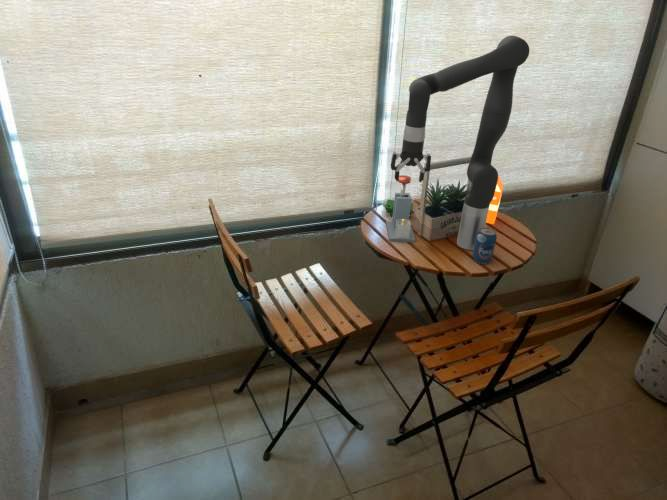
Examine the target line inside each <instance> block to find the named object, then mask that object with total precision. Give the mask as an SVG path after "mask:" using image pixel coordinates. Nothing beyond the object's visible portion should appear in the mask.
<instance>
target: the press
mask: <svg viewBox="0 0 667 500" xmlns="http://www.w3.org/2000/svg"><path fill="white" fill-rule="evenodd" d="M393 200H394V208H393V215H392V217H391V220H386V221H385V226H386V232H387V237H388V240H389V242H393V243H396V242H397V243H416V238H415V234H414V232H413V231H414V230H413V227H412V226H411V227H410V235H409V239H400V238H396V236H395V226H396V219H402V218H405V219H409V220H410V216H409V215H410V208H411V203H412V196H411V194H410V192H405V197H400V192H396V191H395V192H394V199H393Z"/></svg>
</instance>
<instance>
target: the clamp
mask: <svg viewBox="0 0 667 500" xmlns="http://www.w3.org/2000/svg"><path fill="white" fill-rule="evenodd" d="M384 206H385V207H384V209H385V211H386V213H388V214H390V217H391V218H392V216H393V208H394V199H387V200H386V203H385V205H384ZM413 208H414V202H411V208H410V215H411V216H412V214H413Z"/></svg>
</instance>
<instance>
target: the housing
mask: <svg viewBox="0 0 667 500" xmlns="http://www.w3.org/2000/svg"><path fill="white" fill-rule="evenodd" d="M410 227H412V224H411V221H410V218H409V219H405V218H402V219H396V226H395V236H396V238H400V239H409V235H410Z"/></svg>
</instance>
